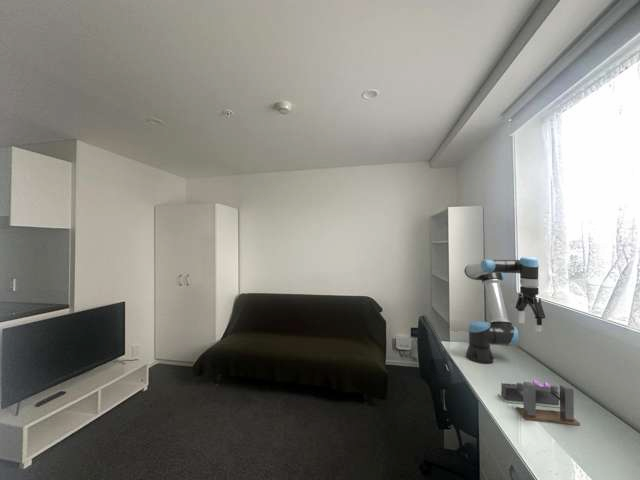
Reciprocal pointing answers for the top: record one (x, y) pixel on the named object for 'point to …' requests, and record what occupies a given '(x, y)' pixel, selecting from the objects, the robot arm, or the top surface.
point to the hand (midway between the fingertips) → (529, 326)
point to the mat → (536, 403)
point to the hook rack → (546, 415)
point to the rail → (512, 394)
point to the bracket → (540, 384)
